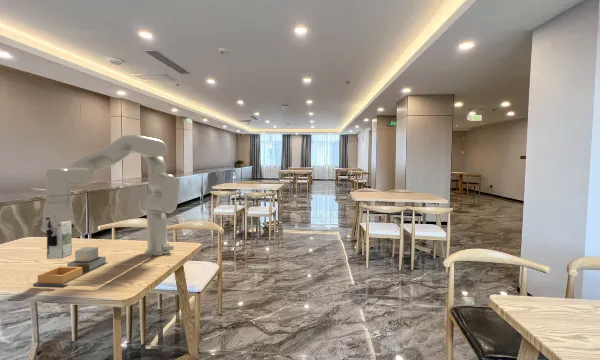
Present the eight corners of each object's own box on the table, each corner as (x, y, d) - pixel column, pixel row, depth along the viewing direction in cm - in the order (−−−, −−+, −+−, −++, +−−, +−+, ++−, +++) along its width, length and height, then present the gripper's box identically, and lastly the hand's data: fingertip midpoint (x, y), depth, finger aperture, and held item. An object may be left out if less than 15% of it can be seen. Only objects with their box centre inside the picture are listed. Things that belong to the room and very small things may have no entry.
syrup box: (57, 254, 123) (56, 219, 122) (72, 254, 124) (71, 219, 123) (46, 259, 117) (45, 222, 117) (62, 259, 118) (61, 222, 117)
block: (98, 264, 138) (98, 247, 137) (88, 268, 132) (88, 251, 131) (85, 264, 138) (85, 247, 138) (75, 268, 132) (75, 250, 132)
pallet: (84, 264, 141) (84, 255, 141) (109, 265, 141) (109, 256, 141) (33, 286, 115) (32, 276, 115) (63, 287, 115) (62, 277, 115)
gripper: (67, 196, 128) (68, 238, 129) (29, 201, 111) (30, 249, 112) (84, 197, 128) (85, 238, 129) (48, 201, 111) (49, 249, 111)
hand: (59, 243), depth 120 cm, fingers closed on syrup box, 6 cm apart
